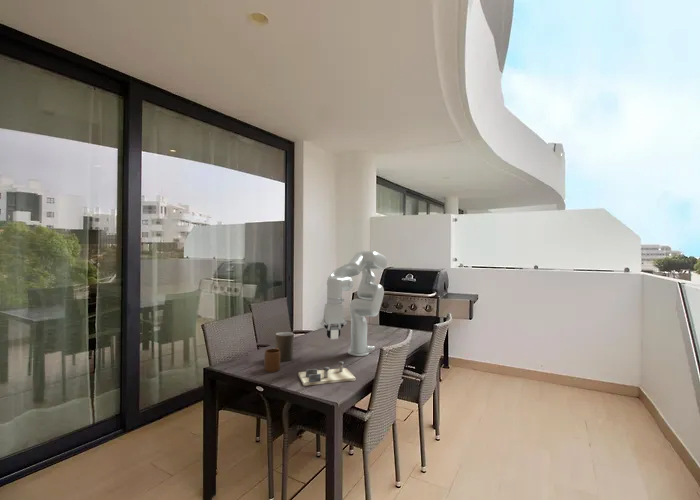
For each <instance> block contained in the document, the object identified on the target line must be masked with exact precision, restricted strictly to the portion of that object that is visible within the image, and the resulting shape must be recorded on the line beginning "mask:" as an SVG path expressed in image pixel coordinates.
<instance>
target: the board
mask: <svg viewBox="0 0 700 500" xmlns="http://www.w3.org/2000/svg"><path fill="white" fill-rule="evenodd" d="M344 363H345V362H344V361H341V360H340V361H338V365H339V367H338V368H330V367H328V366H323V369H317V368H308V369H305V371H299V372H297V377H298V378H299V380H300V381H301V383H302V385H303V386H314V385H315V386H316V385H324V384H325V385H326V384H334V383H335V384H336V383H342V382H353V381H354V382H355V381H356V380H357V378H356V377H355V376H354V374H353V373H352V372H351V371H350V370H349V369H348V368H347V367H343V365H344Z"/></svg>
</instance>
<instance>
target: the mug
mask: <svg viewBox="0 0 700 500" xmlns="http://www.w3.org/2000/svg"><path fill="white" fill-rule="evenodd" d="M280 369H281V361H280V350H279V348H270V349H266V350H265V351H264V371H265V372H267V373H276V372H279V371H280Z"/></svg>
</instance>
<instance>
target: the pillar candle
mask: <svg viewBox="0 0 700 500" xmlns="http://www.w3.org/2000/svg"><path fill="white" fill-rule="evenodd" d="M274 347H275V348H279V350H280V363H281V362H290V361H293V359H294V332H290V331H283V332H282V331H281V332H276V333H275V346H274ZM275 348H274V349H275Z"/></svg>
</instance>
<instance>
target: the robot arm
mask: <svg viewBox="0 0 700 500" xmlns="http://www.w3.org/2000/svg"><path fill="white" fill-rule="evenodd" d="M387 266H388V259H387V257H386V256H385V255H383V254H382V253H380V252H377V251H374V250H371V251H370V250H369V251H368V250H359V251H358V252H356V253H355V255H353V256H352V258H351V259H350V261H349V262H348V263H347V264H343V265H341V266H339V267H337V268H336V269H335V270H333V271H332V273H330V275H329V276H328V278H327V280H326V288H327V289H326V303H325V305H324V309H323V310H324V311H323V316H322V317H323V319H321V322H320V326H322V327H324V328H325V329H326V337H327V338H328V339H330V338H331V331H330V326H332V325H337V326H338V327H339V333H338V339H340V336H341V330H342V329H343V328H344V326H345V325H347V324H348V322H347V320H346V319H345V311H344V310H345V309H344V305H343V303H344V302H345V299H344V298H343V293H342V292H343V291H345V292H346V291H350V290H351V289H353V287H354V280H353V279H352V278H351V277H355V276H359V274H360V273H361V274H362V275H361V279H360V282H359V285H358V289H357V291H356V293H357V294H356V295H357V297H358V298H354V299H352V300H351V301H350V303H349V313H350V348H349V349H348V350H347V354H348V355H350V356H353V357H354V356H356V357H365V356H369V355H370V350H375V349H376V348H375V346H374V345H368V321H367V318H366V317H371V318H374V317H377V316H378V314H379V312H380V309H381V307H382V303H383V300H384V296H385V289H384V286H383V285H381V284H379V283H376V279H377V277H376V275H375V273H374V272H373V270H385V269H386V268H387Z"/></svg>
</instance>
